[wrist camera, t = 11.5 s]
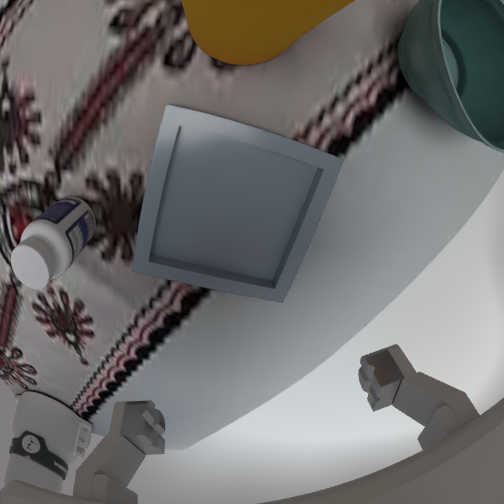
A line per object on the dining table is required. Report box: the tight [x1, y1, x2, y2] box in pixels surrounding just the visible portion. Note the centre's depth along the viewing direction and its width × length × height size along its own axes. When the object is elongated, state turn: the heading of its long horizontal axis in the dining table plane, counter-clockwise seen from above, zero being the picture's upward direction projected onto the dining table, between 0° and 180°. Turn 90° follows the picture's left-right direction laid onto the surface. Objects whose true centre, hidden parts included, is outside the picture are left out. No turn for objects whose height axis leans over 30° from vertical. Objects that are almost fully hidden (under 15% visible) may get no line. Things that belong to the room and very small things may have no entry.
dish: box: [132, 104, 344, 303], centre depth 27 cm, size 16×16×2 cm
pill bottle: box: [11, 196, 96, 289], centre depth 21 cm, size 5×5×10 cm
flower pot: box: [398, 0, 504, 153], centre depth 17 cm, size 16×16×11 cm
